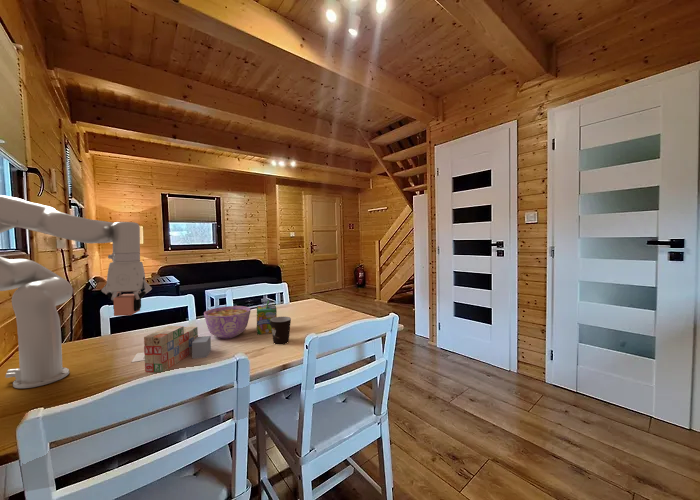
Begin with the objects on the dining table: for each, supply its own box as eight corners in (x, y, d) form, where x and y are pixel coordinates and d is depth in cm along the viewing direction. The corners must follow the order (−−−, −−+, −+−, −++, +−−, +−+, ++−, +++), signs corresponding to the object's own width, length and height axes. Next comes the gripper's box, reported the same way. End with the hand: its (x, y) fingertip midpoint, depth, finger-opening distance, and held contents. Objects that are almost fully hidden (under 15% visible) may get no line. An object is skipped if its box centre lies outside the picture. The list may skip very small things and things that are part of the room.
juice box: (256, 329, 148) (256, 299, 147) (275, 327, 151) (275, 298, 150) (256, 335, 139) (256, 303, 139) (277, 333, 142) (276, 302, 141)
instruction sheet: (131, 362, 109) (131, 361, 109) (136, 353, 118) (136, 353, 118) (169, 356, 114) (169, 356, 114) (172, 348, 123) (172, 348, 123)
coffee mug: (293, 344, 127) (292, 320, 127) (272, 346, 124) (271, 322, 124) (288, 335, 138) (287, 314, 138) (268, 338, 135) (268, 316, 134)
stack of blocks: (184, 348, 123) (183, 319, 122) (198, 349, 123) (197, 319, 122) (144, 372, 102) (143, 336, 101) (162, 372, 101) (161, 336, 101)
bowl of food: (231, 345, 126) (230, 318, 126) (193, 340, 133) (193, 314, 132) (260, 331, 145) (259, 307, 145) (226, 327, 152) (225, 304, 151)
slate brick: (192, 358, 113) (191, 342, 112) (197, 351, 120) (196, 336, 119) (206, 357, 114) (206, 341, 114) (210, 350, 121) (210, 335, 120)
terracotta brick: (113, 315, 100) (113, 297, 99) (123, 311, 106) (123, 294, 106) (131, 315, 101) (131, 297, 101) (140, 310, 108) (139, 293, 108)
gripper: (90, 258, 97) (91, 314, 98) (150, 258, 102) (151, 312, 102) (103, 257, 104) (104, 309, 105) (158, 257, 109) (159, 307, 109)
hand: (127, 310), depth 104 cm, fingers closed on terracotta brick, 5 cm apart
